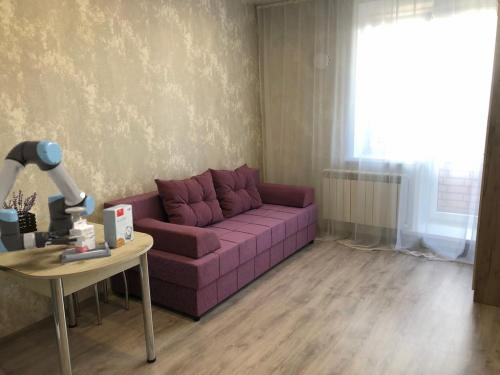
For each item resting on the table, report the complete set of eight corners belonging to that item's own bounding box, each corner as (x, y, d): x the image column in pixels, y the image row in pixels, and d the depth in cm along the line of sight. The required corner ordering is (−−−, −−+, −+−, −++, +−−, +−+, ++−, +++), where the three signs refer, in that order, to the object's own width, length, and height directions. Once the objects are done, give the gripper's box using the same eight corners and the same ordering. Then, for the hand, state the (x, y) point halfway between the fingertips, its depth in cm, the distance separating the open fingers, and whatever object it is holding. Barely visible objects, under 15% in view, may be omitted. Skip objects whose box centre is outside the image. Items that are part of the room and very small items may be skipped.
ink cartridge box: (83, 253, 192) (80, 223, 190) (75, 251, 194) (72, 222, 191) (96, 247, 200) (93, 219, 197) (88, 246, 202) (86, 218, 199)
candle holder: (85, 240, 220) (82, 205, 217) (96, 245, 212) (92, 208, 208) (62, 246, 212) (59, 209, 208) (72, 251, 203) (68, 212, 200)
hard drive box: (116, 248, 207) (113, 210, 203) (104, 247, 209) (101, 210, 206) (134, 239, 221) (131, 204, 218) (122, 238, 224) (119, 203, 220)
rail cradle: (62, 254, 200) (61, 245, 199) (108, 247, 208) (108, 239, 207) (61, 263, 187) (60, 254, 186) (111, 255, 196) (110, 247, 195)
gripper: (38, 240, 199) (84, 235, 207) (34, 256, 176) (85, 249, 185) (36, 226, 198) (82, 221, 206) (32, 240, 175) (84, 233, 184)
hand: (84, 234), depth 195 cm, fingers open, 13 cm apart
